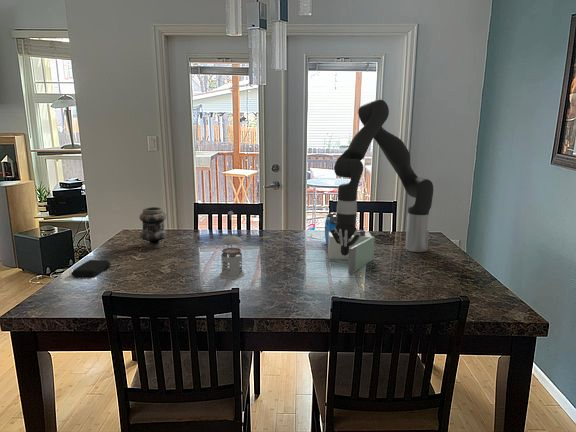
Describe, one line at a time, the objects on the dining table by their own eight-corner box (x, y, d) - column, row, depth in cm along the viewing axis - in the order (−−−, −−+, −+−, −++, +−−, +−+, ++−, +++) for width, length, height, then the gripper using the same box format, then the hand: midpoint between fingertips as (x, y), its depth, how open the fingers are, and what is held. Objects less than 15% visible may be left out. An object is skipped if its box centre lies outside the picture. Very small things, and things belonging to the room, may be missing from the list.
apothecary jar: (173, 244, 202) (171, 207, 198) (152, 251, 192) (150, 212, 188) (155, 240, 208) (153, 204, 204) (135, 246, 198) (132, 209, 194)
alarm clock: (341, 248, 198) (342, 217, 195) (328, 248, 198) (329, 217, 194) (336, 240, 211) (337, 211, 207) (323, 240, 210) (324, 211, 207)
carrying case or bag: (97, 279, 159) (114, 266, 173) (96, 271, 158) (114, 259, 172) (69, 278, 159) (89, 265, 173) (68, 271, 158) (88, 258, 173)
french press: (224, 280, 157) (222, 214, 152) (214, 271, 167) (212, 208, 162) (248, 276, 162) (247, 212, 156) (237, 267, 172) (236, 206, 166)
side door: (371, 258, 182) (372, 236, 180) (373, 259, 181) (374, 236, 179) (348, 273, 164) (349, 248, 162) (350, 274, 164) (351, 249, 161)
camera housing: (368, 253, 190) (369, 229, 187) (371, 259, 182) (372, 233, 180) (327, 253, 191) (328, 228, 188) (329, 258, 183) (329, 233, 180)
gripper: (366, 212, 160) (364, 256, 164) (336, 207, 168) (334, 249, 172) (357, 215, 155) (355, 260, 159) (326, 210, 162) (325, 253, 166)
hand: (344, 254), depth 165 cm, fingers closed
